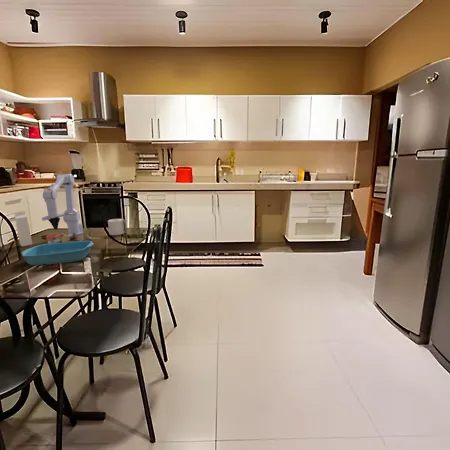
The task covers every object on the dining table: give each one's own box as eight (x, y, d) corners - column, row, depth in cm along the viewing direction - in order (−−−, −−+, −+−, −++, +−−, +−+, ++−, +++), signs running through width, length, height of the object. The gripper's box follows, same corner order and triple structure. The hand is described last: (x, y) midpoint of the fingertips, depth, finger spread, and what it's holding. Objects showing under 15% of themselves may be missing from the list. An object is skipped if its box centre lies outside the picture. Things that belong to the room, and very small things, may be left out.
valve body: (72, 237, 223) (71, 232, 222) (78, 237, 221) (77, 232, 220) (47, 245, 205) (46, 239, 205) (52, 245, 203) (51, 240, 202)
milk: (32, 244, 209) (26, 212, 204) (21, 246, 205) (15, 213, 200) (30, 242, 213) (24, 211, 209) (20, 244, 210) (13, 212, 205)
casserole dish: (15, 269, 162) (12, 256, 161) (34, 256, 184) (31, 244, 182) (89, 262, 167) (87, 249, 166) (99, 250, 189) (97, 238, 187)
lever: (62, 234, 214) (61, 231, 213) (65, 235, 213) (64, 231, 212) (46, 239, 203) (45, 235, 202) (49, 239, 202) (48, 235, 201)
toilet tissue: (109, 232, 231) (108, 219, 229) (126, 230, 234) (125, 217, 232) (109, 236, 221) (107, 222, 219) (126, 234, 224) (125, 220, 222)
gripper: (58, 206, 212) (62, 226, 215) (37, 210, 199) (41, 231, 202) (65, 207, 208) (68, 226, 211) (44, 211, 196) (48, 232, 199)
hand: (55, 229), depth 207 cm, fingers closed
